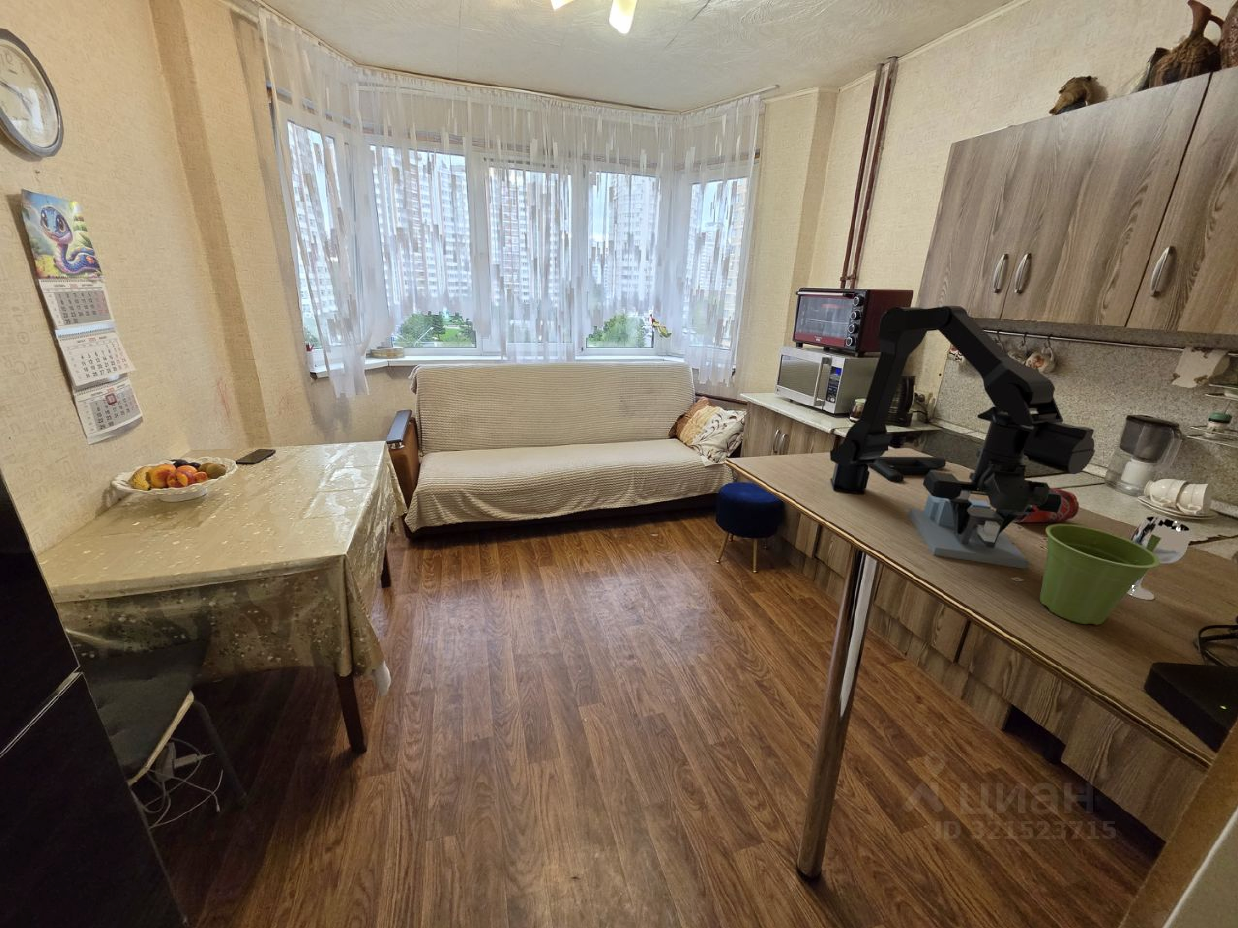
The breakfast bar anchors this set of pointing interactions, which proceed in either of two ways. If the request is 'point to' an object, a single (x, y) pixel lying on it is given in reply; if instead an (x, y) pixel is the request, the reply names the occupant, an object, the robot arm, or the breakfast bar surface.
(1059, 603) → the plant pot
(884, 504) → the breakfast bar surface
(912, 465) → the black flat piece
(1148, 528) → the wineglass
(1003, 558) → the vise
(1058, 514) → the beverage can
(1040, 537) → the breakfast bar surface
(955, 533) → the dark grey block
